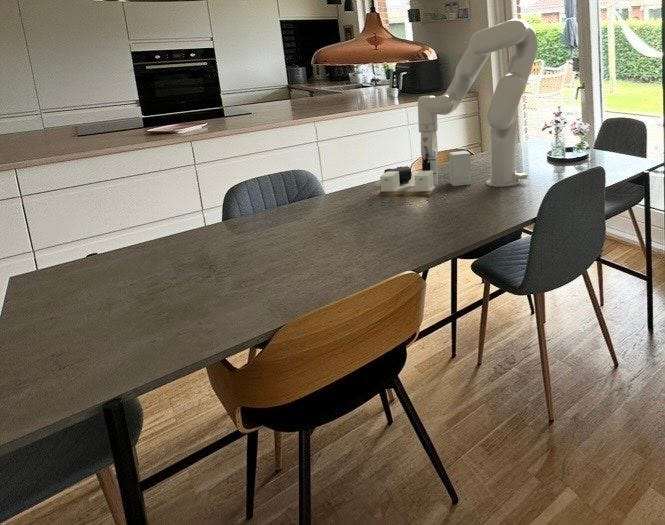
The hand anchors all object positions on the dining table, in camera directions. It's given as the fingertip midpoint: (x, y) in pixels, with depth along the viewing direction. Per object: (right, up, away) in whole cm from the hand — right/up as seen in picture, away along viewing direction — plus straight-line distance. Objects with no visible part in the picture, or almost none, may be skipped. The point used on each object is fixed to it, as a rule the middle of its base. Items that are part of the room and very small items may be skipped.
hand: (429, 169), depth 234 cm
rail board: (-10, -11, -8) cm, 16 cm away
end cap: (-12, -4, +11) cm, 16 cm away
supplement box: (+12, -6, -2) cm, 14 cm away
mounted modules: (-10, -9, -8) cm, 16 cm away
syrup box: (+1, -6, +2) cm, 6 cm away
